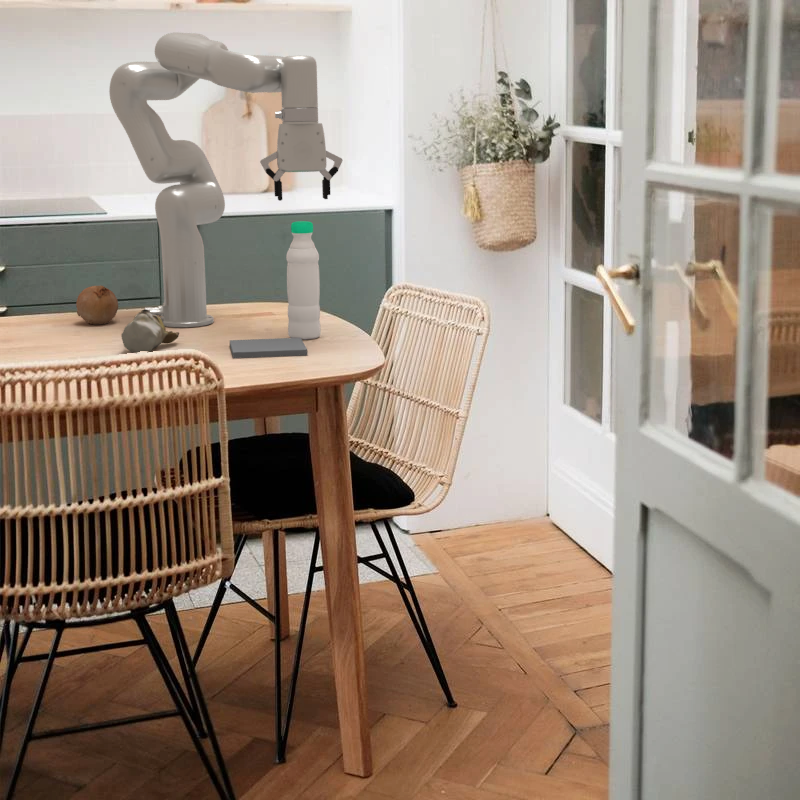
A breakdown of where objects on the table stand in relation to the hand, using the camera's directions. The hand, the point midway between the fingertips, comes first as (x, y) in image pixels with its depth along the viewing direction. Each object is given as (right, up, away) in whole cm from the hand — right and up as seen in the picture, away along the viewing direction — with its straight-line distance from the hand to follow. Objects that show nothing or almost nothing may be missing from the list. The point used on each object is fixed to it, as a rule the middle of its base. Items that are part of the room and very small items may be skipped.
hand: (302, 199), depth 272 cm
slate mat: (-7, -32, -7) cm, 34 cm away
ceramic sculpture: (-32, -32, -4) cm, 46 cm away
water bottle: (0, -29, +7) cm, 30 cm away
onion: (-49, -25, +24) cm, 60 cm away
